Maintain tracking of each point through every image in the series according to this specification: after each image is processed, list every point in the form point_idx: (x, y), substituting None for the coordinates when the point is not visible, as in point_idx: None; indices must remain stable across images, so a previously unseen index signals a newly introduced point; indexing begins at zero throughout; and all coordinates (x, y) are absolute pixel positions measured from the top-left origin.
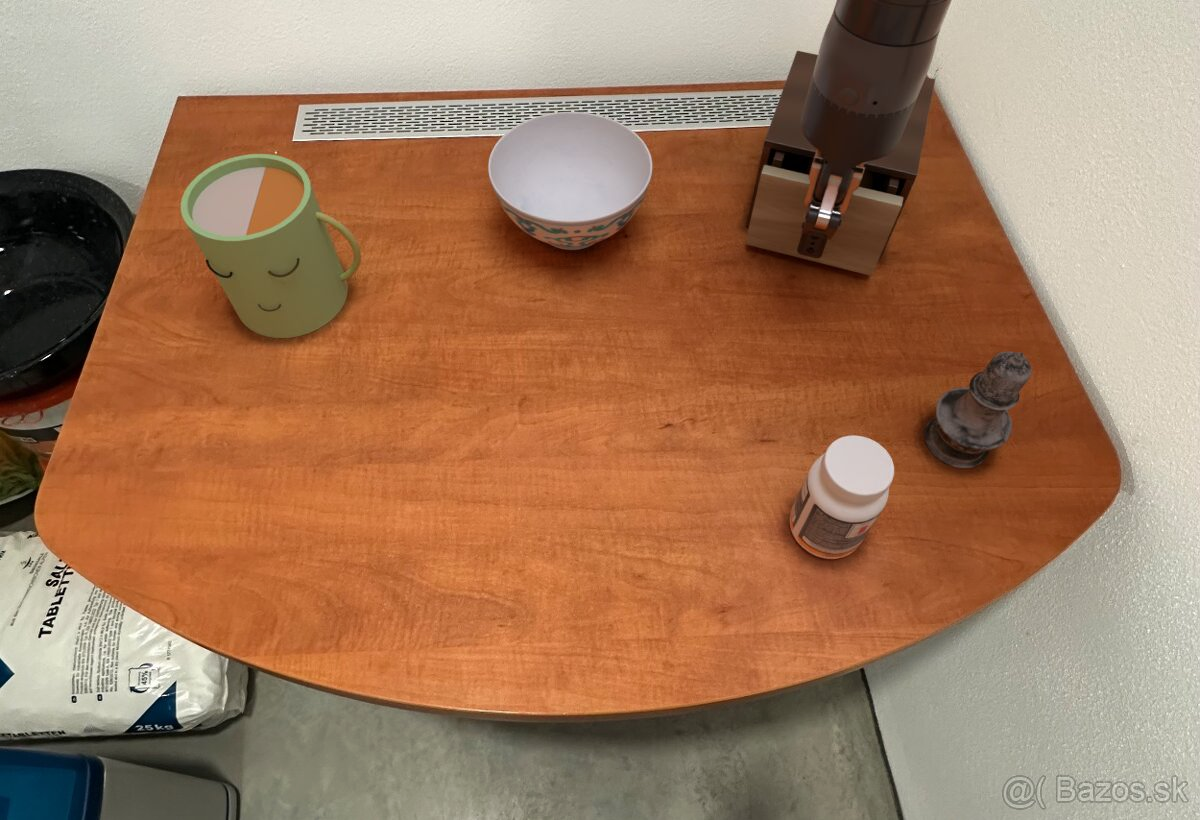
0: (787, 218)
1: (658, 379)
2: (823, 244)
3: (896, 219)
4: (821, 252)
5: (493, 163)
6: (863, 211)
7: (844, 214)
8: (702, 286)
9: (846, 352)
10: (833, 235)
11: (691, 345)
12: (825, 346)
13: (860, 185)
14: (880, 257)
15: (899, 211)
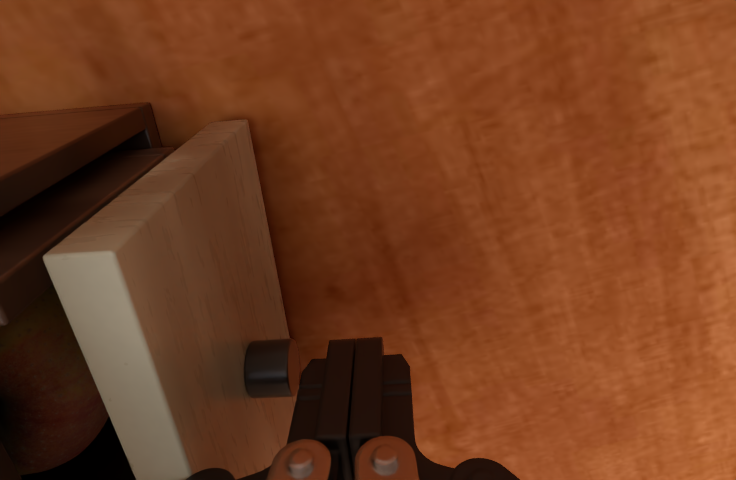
0: (269, 442)
1: (715, 438)
2: (381, 379)
3: (58, 154)
4: (381, 352)
5: None
6: (191, 338)
7: (216, 365)
8: (445, 435)
9: (538, 107)
10: (492, 475)
11: (612, 413)
12: (533, 165)
13: (7, 324)
14: (147, 106)
15: (33, 169)
